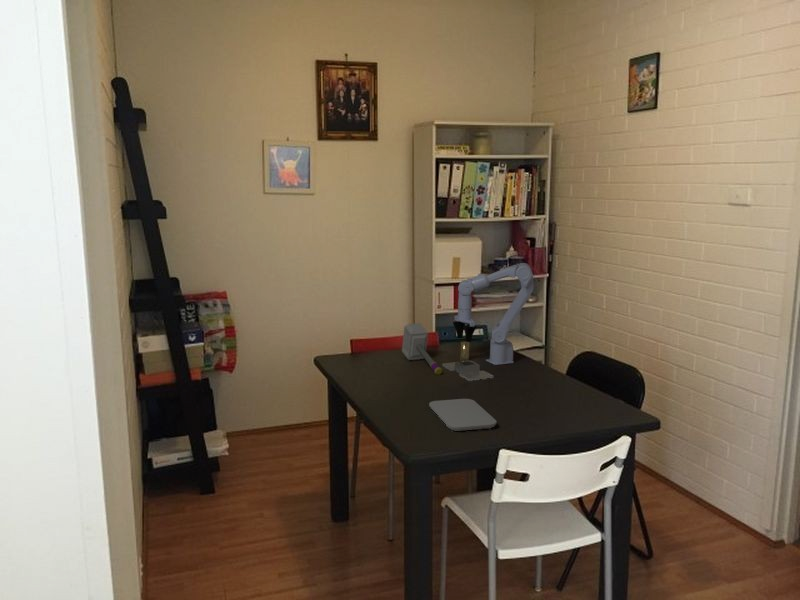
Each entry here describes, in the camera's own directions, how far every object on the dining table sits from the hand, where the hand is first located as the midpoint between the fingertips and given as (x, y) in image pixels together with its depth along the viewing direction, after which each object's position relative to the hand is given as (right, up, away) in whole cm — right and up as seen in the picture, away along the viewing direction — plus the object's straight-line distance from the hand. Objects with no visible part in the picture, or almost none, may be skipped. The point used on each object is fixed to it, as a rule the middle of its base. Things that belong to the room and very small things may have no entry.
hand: (464, 339), depth 295 cm
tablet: (-7, -22, -68) cm, 72 cm away
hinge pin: (0, -9, +2) cm, 9 cm away
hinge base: (0, -12, -15) cm, 19 cm away
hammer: (-18, -11, -6) cm, 22 cm away
